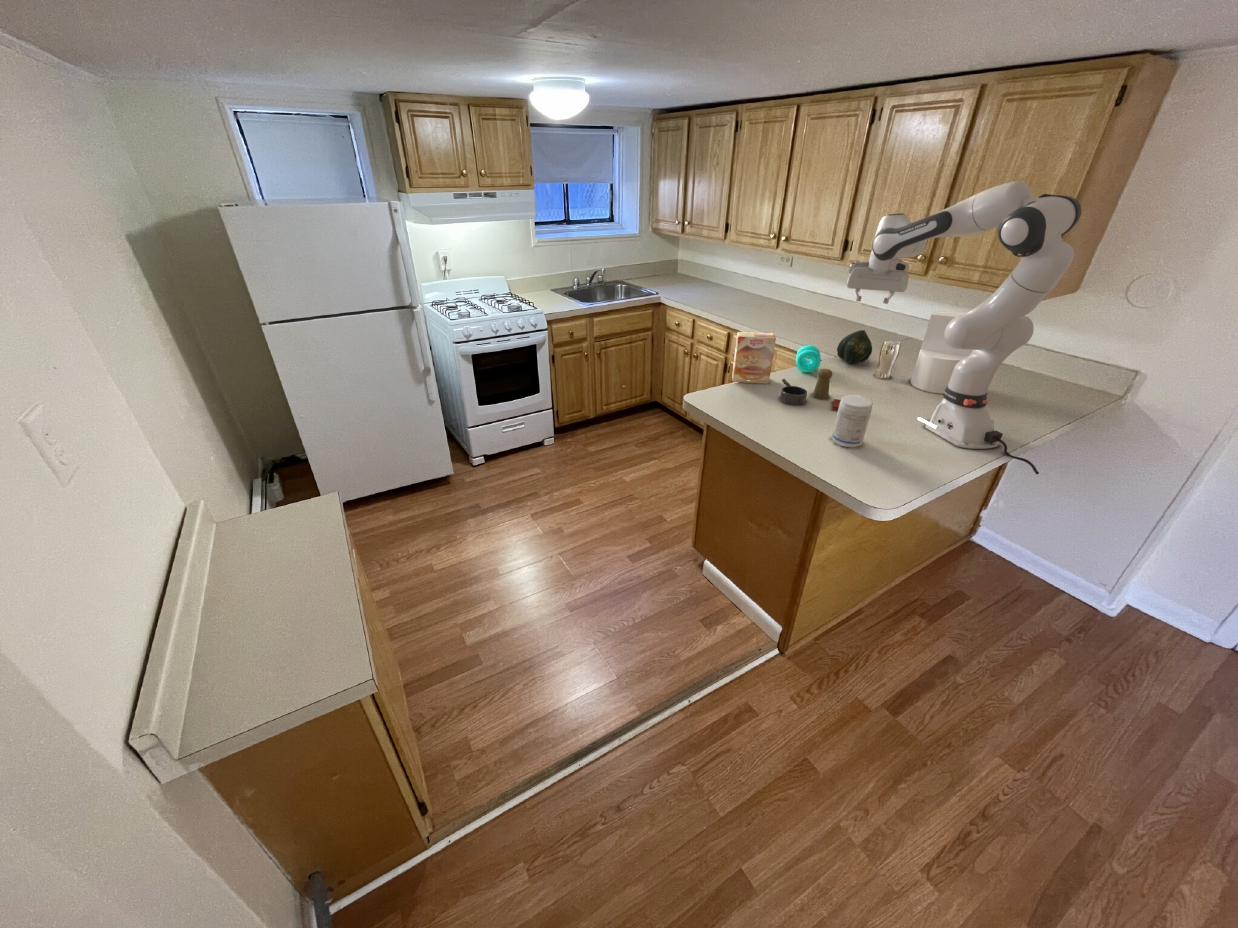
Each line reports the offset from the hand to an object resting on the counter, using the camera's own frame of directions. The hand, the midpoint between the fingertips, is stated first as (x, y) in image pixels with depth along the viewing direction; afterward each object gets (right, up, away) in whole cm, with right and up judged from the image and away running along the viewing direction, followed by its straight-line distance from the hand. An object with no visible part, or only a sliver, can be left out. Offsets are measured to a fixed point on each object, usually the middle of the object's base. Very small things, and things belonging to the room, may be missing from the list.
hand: (871, 302), depth 190 cm
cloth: (-10, -39, +1) cm, 41 cm away
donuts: (-11, -19, +36) cm, 42 cm away
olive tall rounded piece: (-15, -34, +10) cm, 39 cm away
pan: (-27, -36, +7) cm, 46 cm away
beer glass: (+19, -23, +29) cm, 41 cm away
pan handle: (-28, -29, +13) cm, 42 cm away
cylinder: (+35, -28, +20) cm, 49 cm away
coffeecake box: (-39, -25, +25) cm, 53 cm away
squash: (+13, -13, +45) cm, 49 cm away
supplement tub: (-19, -53, -22) cm, 61 cm away
